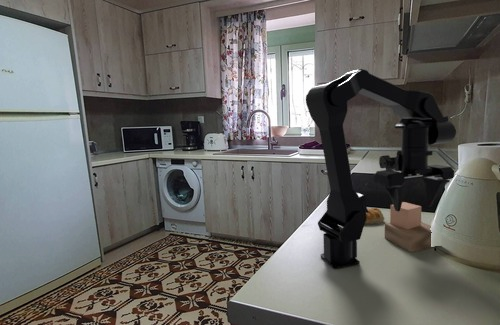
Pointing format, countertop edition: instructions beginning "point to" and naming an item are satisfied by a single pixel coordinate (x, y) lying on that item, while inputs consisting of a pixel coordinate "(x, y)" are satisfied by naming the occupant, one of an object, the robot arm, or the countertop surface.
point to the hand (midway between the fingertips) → (413, 208)
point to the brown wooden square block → (409, 236)
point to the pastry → (374, 216)
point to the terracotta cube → (406, 216)
